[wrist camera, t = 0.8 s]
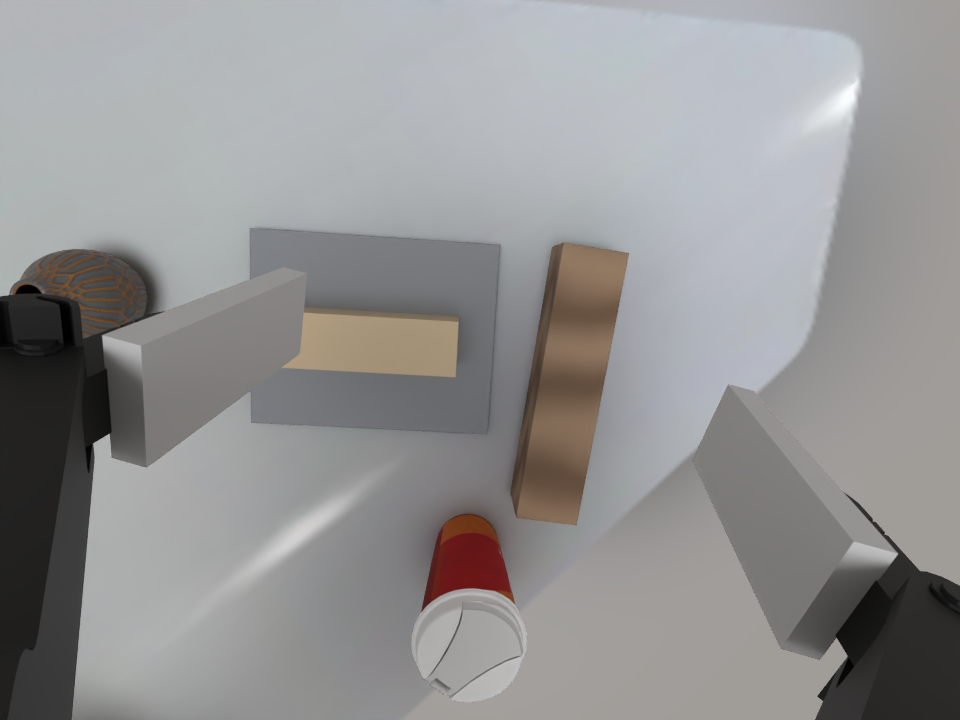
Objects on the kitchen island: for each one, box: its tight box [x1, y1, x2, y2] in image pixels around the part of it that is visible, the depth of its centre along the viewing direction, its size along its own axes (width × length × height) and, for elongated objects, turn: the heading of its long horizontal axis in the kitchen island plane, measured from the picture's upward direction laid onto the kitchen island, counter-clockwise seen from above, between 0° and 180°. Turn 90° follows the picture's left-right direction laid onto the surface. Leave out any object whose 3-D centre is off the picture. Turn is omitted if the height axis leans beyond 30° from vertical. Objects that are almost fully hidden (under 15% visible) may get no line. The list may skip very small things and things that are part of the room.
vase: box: [9, 249, 147, 339], centre depth 36 cm, size 7×7×9 cm
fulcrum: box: [250, 228, 500, 434], centre depth 38 cm, size 16×20×7 cm
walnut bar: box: [511, 243, 629, 525], centre depth 41 cm, size 22×5×5 cm, turn 171°
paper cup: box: [411, 514, 527, 702], centre depth 38 cm, size 8×8×14 cm
